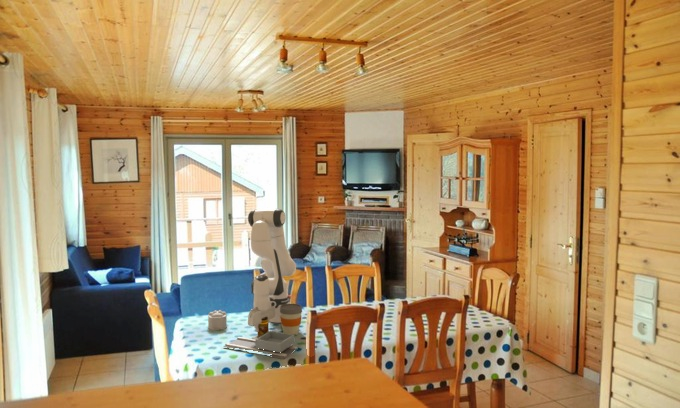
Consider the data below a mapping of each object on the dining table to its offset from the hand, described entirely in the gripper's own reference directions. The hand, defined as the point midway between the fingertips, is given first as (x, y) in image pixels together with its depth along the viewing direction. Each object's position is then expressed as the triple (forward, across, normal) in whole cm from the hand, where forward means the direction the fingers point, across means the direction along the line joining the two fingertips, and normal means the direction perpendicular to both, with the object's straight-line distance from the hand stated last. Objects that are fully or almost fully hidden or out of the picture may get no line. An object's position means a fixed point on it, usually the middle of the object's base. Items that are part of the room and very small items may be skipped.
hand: (261, 329), depth 310 cm
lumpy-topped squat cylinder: (+5, +2, +34) cm, 35 cm away
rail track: (+5, -13, -10) cm, 17 cm away
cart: (+3, -12, -18) cm, 22 cm away
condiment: (+5, 0, 0) cm, 5 cm away
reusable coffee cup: (+5, +16, -8) cm, 19 cm away
